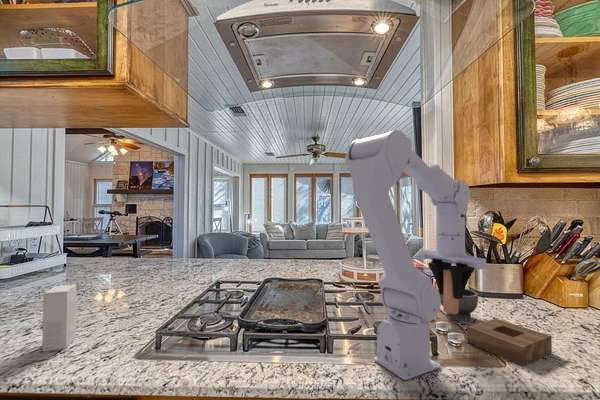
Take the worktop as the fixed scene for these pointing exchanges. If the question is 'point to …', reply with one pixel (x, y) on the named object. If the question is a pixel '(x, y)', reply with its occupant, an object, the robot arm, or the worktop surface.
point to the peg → (449, 294)
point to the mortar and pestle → (464, 305)
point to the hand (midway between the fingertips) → (450, 296)
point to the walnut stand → (510, 341)
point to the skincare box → (59, 317)
